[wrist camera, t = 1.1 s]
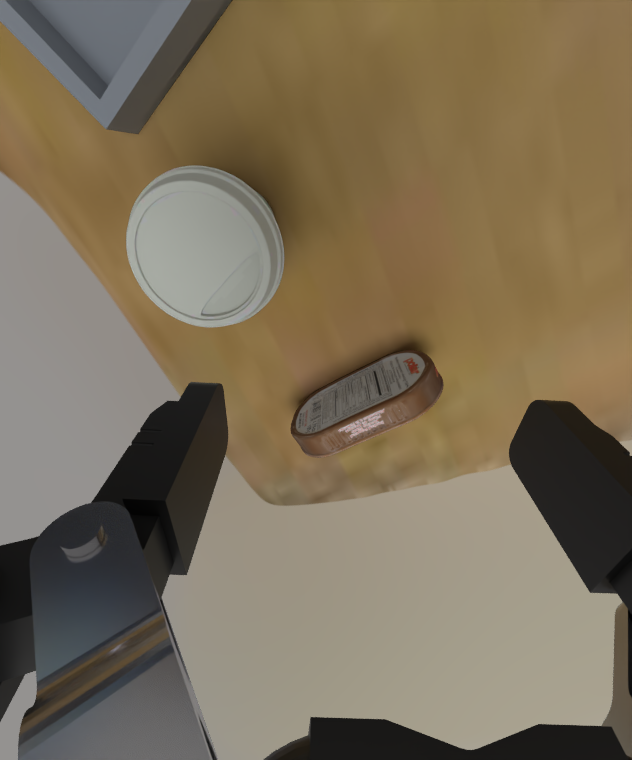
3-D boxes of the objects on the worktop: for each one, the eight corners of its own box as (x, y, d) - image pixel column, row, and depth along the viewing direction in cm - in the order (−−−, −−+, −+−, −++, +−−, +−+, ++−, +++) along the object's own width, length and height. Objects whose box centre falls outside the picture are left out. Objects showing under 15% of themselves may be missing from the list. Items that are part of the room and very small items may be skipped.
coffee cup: (210, 286, 31) (159, 348, 21) (169, 178, 26) (79, 190, 16) (303, 266, 30) (298, 321, 20) (277, 151, 26) (253, 145, 15)
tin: (303, 417, 39) (301, 475, 32) (288, 398, 38) (282, 453, 30) (429, 357, 35) (459, 407, 28) (417, 332, 33) (445, 378, 26)
